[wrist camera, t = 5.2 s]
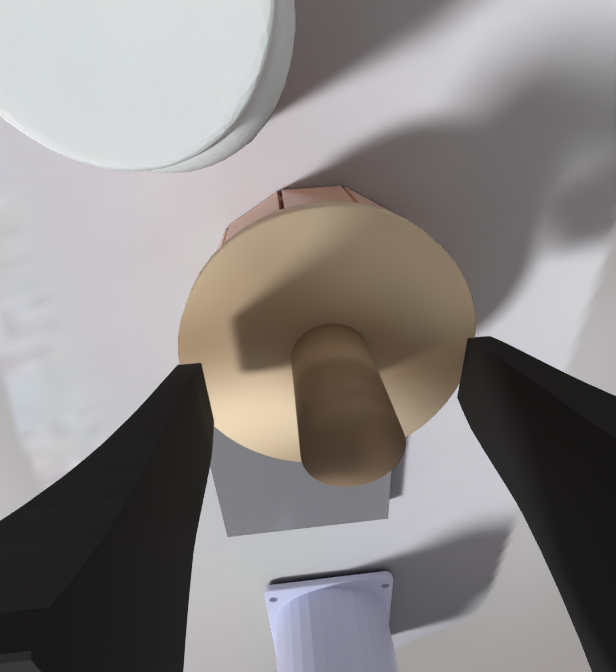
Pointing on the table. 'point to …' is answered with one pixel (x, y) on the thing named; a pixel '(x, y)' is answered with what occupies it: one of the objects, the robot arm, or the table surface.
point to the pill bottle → (144, 77)
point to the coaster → (285, 493)
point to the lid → (328, 336)
